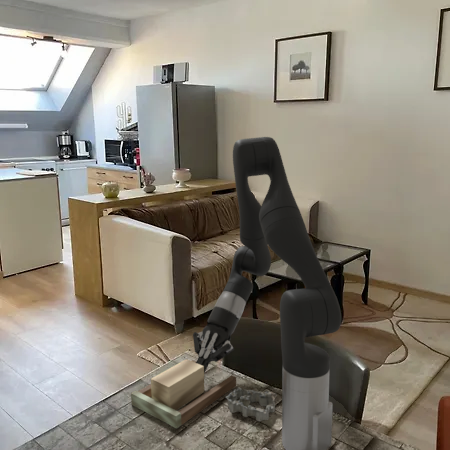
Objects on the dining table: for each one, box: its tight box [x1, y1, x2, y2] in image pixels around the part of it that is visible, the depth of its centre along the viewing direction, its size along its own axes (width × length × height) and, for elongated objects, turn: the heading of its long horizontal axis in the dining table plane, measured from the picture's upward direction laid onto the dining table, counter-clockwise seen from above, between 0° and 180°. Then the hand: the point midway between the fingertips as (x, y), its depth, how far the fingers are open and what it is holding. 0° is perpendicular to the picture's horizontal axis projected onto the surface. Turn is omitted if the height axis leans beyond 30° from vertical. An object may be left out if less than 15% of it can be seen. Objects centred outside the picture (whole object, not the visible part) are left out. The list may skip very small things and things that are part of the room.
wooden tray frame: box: [130, 359, 237, 429], centre depth 113 cm, size 15×22×3 cm
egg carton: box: [225, 386, 278, 422], centre depth 106 cm, size 11×8×4 cm
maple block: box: [150, 358, 206, 411], centre depth 111 cm, size 6×12×7 cm, turn 141°
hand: (197, 373), depth 116 cm, fingers closed
